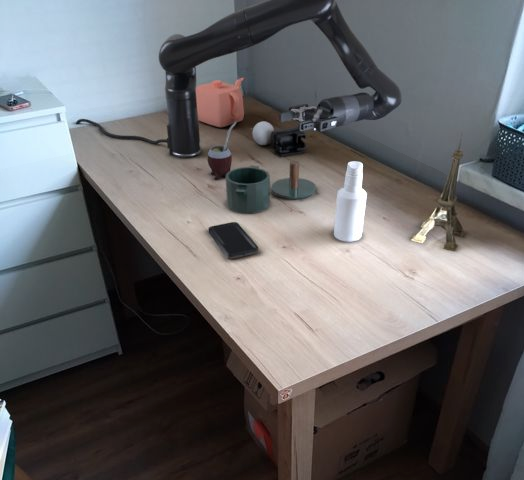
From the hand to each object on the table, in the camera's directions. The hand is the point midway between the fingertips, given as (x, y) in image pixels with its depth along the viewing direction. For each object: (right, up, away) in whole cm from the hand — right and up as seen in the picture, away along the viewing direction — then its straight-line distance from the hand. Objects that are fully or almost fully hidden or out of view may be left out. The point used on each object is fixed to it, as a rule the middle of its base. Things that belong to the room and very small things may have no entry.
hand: (289, 122), depth 141 cm
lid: (+2, -13, +13) cm, 19 cm away
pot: (-11, -19, +7) cm, 23 cm away
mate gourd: (-19, -7, +22) cm, 30 cm away
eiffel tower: (+36, -31, -7) cm, 48 cm away
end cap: (+1, +6, +36) cm, 37 cm away
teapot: (-21, +26, +60) cm, 69 cm away
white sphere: (-7, +10, +42) cm, 43 cm away
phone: (-14, -33, -9) cm, 37 cm away
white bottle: (+14, -31, -6) cm, 34 cm away
